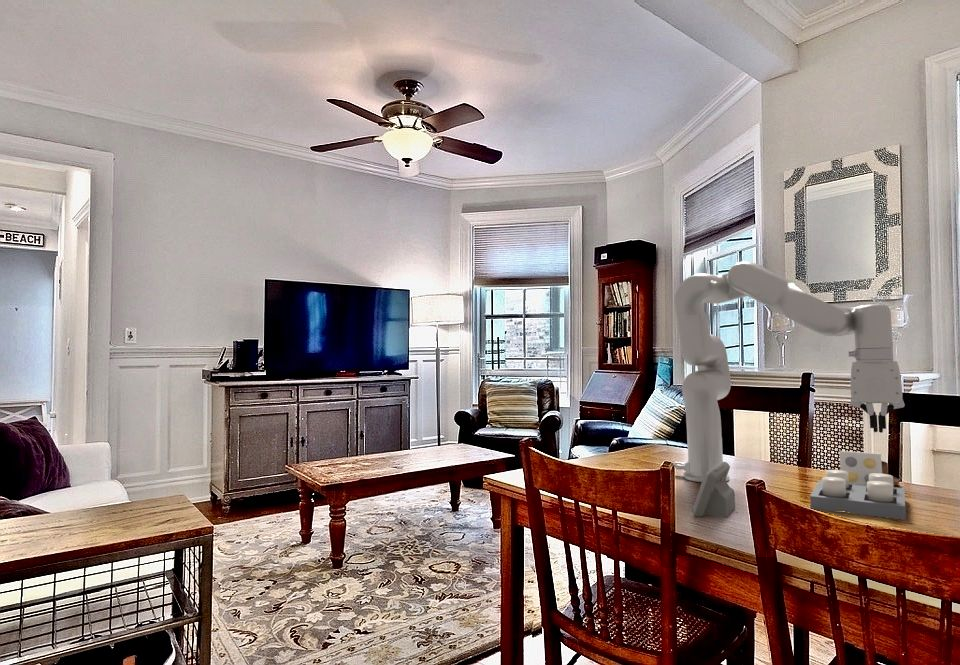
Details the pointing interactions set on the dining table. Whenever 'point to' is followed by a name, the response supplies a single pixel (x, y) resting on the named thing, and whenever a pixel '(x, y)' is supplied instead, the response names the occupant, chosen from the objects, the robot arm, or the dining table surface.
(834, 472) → the button
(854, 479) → the card
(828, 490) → the button
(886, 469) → the cup and saucer
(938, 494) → the dining table surface
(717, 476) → the grey slanted panel stand
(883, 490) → the button
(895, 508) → the button board
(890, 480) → the button
